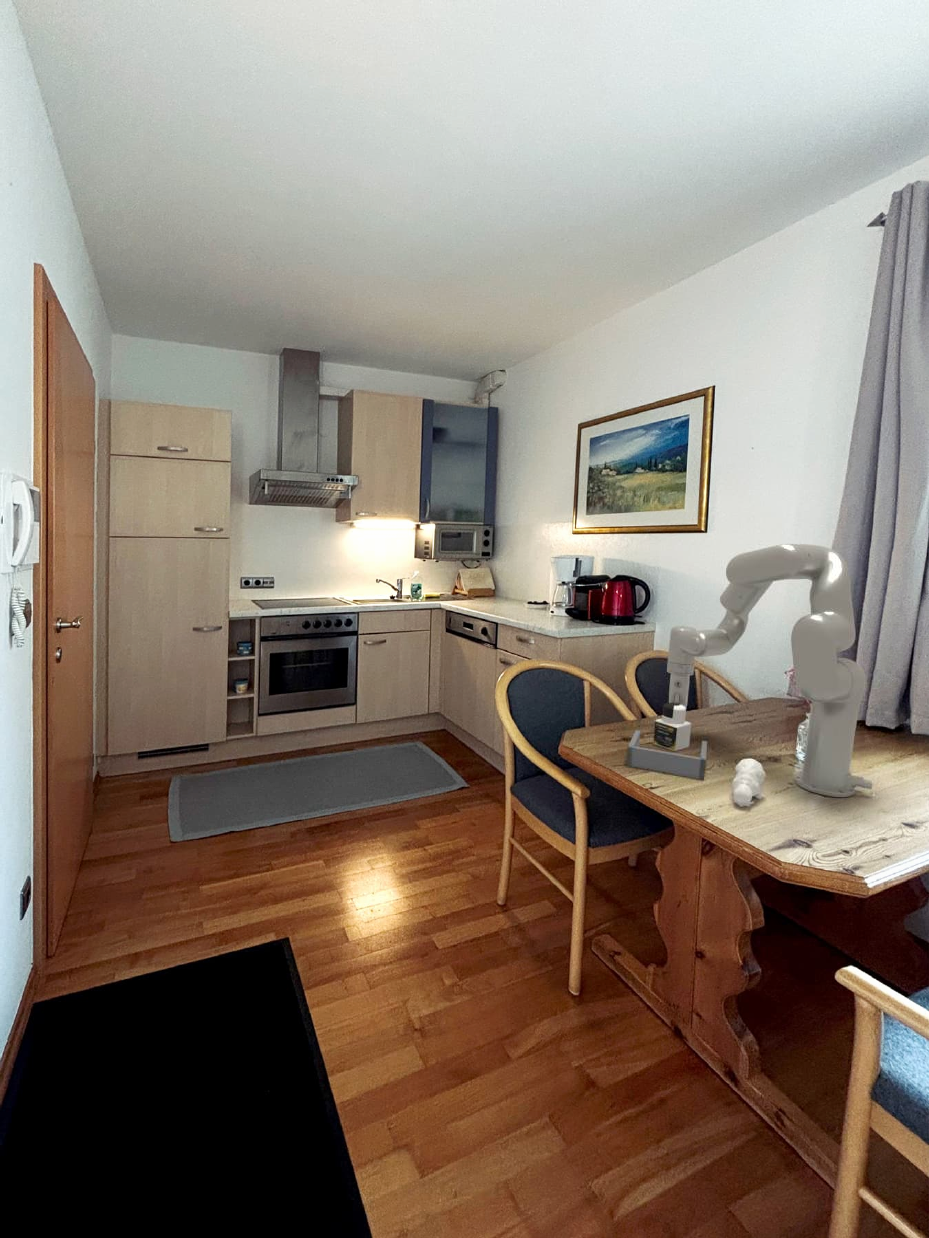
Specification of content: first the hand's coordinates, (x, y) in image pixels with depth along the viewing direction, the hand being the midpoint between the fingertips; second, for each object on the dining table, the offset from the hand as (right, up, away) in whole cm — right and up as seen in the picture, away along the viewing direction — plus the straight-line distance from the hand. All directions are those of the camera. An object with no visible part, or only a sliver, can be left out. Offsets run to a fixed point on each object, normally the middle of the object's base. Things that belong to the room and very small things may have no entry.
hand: (674, 727), depth 182 cm
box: (-11, -5, -24) cm, 27 cm away
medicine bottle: (-5, -3, -12) cm, 13 cm away
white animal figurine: (0, -9, -46) cm, 47 cm away
